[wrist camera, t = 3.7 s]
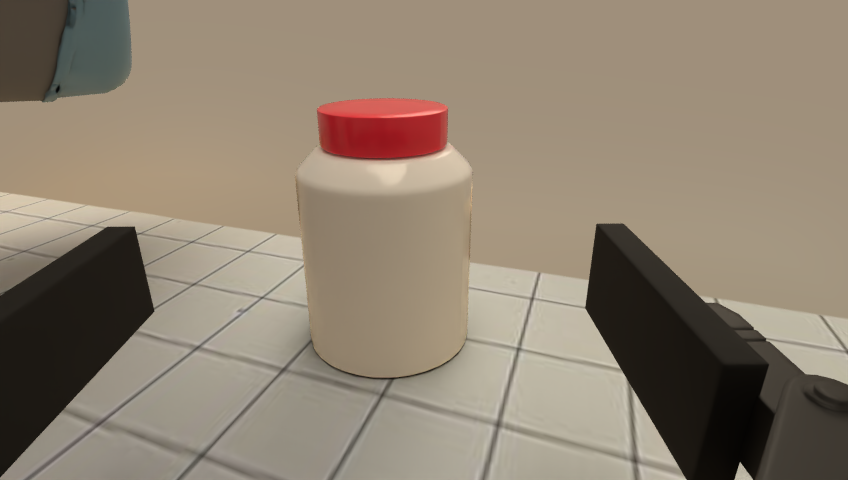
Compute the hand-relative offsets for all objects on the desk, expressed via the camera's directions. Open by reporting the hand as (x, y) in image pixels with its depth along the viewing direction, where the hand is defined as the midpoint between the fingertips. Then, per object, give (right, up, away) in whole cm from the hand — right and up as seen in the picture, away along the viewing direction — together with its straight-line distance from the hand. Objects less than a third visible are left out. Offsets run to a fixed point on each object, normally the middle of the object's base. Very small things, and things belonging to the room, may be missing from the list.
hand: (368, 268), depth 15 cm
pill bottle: (0, -4, +11) cm, 12 cm away
